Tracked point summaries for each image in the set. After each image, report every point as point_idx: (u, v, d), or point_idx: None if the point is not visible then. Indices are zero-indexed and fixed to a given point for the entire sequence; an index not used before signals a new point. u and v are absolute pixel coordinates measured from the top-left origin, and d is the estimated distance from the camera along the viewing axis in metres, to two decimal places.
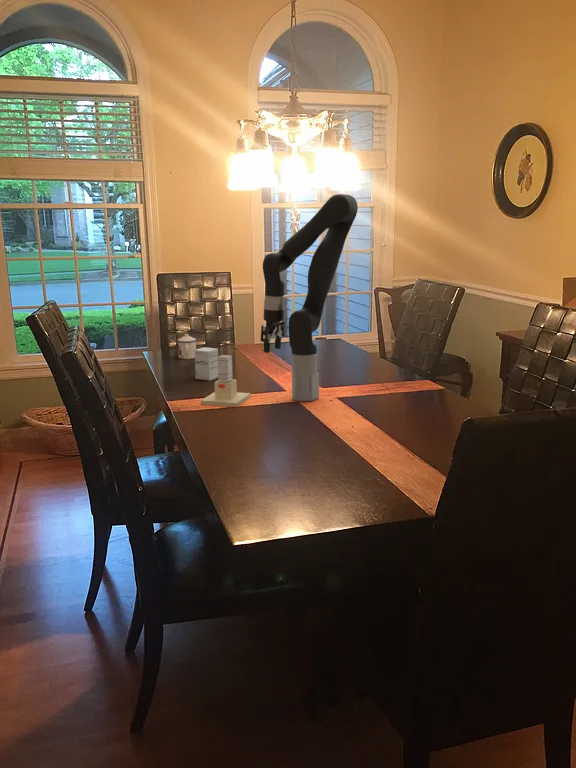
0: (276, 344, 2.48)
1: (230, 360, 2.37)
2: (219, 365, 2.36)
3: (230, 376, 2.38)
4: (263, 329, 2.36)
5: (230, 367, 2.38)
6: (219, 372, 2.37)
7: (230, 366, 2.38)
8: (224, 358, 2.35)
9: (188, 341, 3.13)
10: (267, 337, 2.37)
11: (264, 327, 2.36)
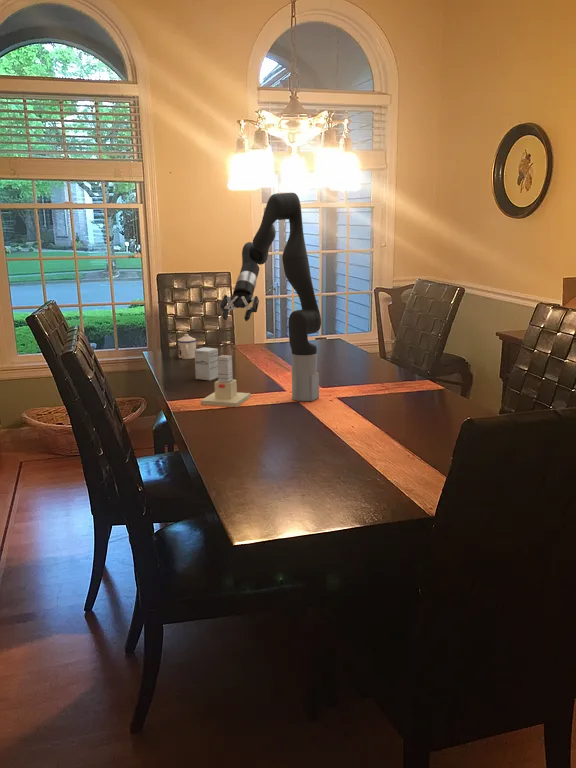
0: None
1: (230, 360, 2.37)
2: (219, 365, 2.36)
3: (230, 376, 2.38)
4: None
5: (230, 367, 2.38)
6: (219, 372, 2.37)
7: (230, 366, 2.38)
8: (224, 358, 2.35)
9: (188, 341, 3.13)
10: (223, 303, 2.49)
11: None
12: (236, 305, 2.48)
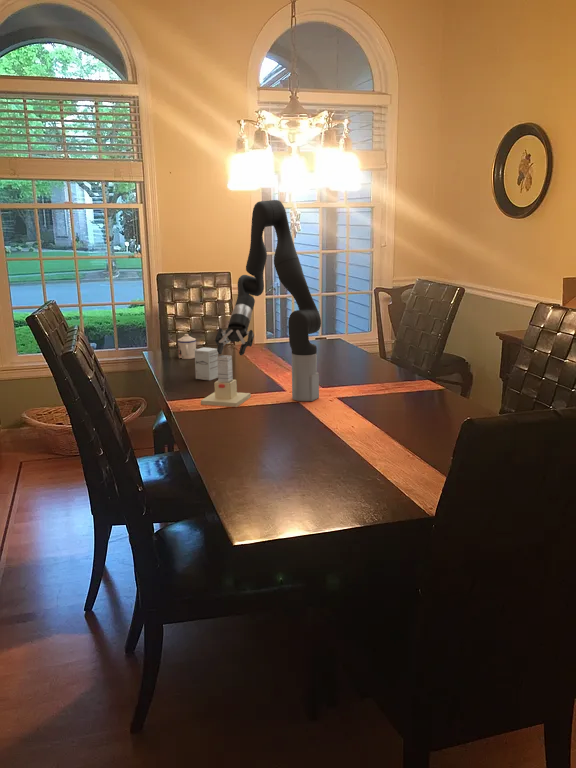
0: None
1: (230, 360, 2.37)
2: (219, 365, 2.36)
3: (230, 376, 2.38)
4: None
5: (230, 367, 2.38)
6: (219, 372, 2.37)
7: (230, 366, 2.38)
8: (224, 358, 2.35)
9: (188, 341, 3.13)
10: (217, 337, 2.46)
11: None
12: (231, 339, 2.45)
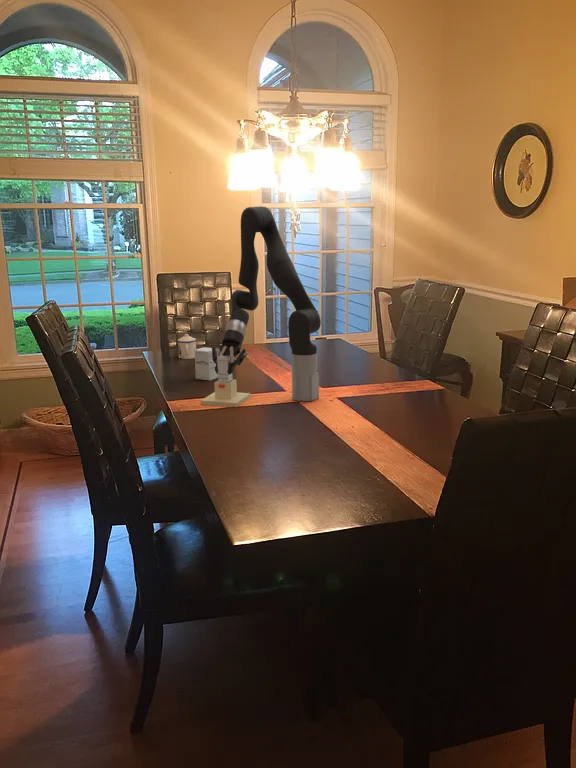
0: None
1: (230, 360, 2.37)
2: (219, 365, 2.36)
3: (230, 376, 2.38)
4: None
5: None
6: (219, 372, 2.37)
7: None
8: (224, 358, 2.35)
9: (188, 341, 3.13)
10: (214, 356, 2.40)
11: None
12: None
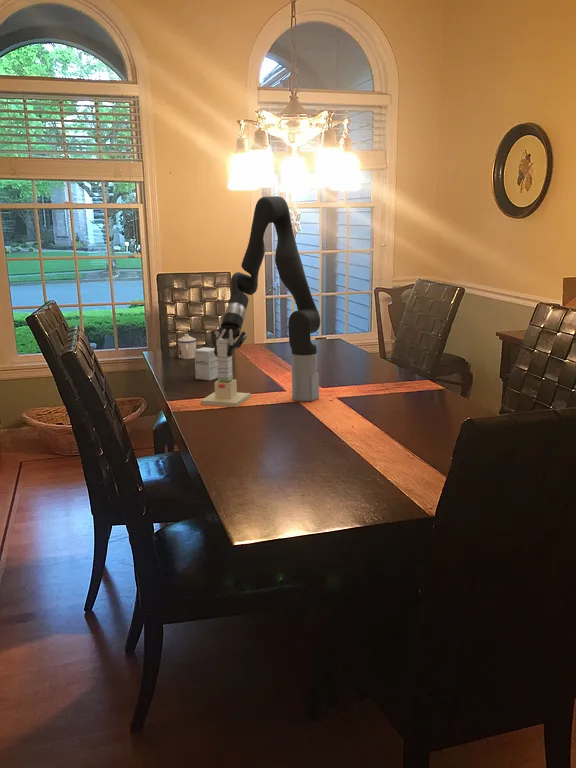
0: None
1: (229, 343, 2.36)
2: (218, 348, 2.35)
3: (229, 359, 2.37)
4: None
5: None
6: (218, 355, 2.35)
7: None
8: (223, 341, 2.34)
9: (188, 341, 3.13)
10: (213, 339, 2.38)
11: None
12: None
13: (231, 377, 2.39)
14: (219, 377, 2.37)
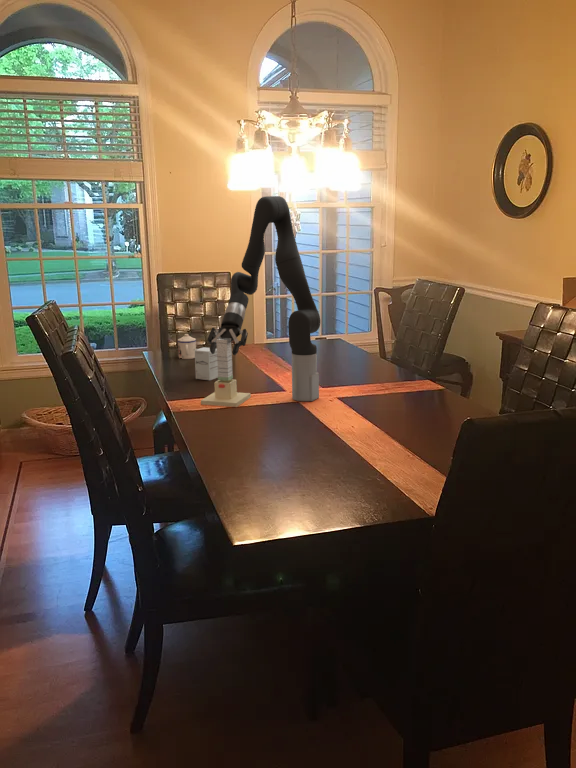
0: None
1: (229, 343, 2.36)
2: (218, 348, 2.35)
3: (229, 359, 2.37)
4: None
5: (229, 350, 2.36)
6: (218, 355, 2.35)
7: (229, 349, 2.36)
8: (223, 340, 2.34)
9: (188, 341, 3.13)
10: (210, 336, 2.39)
11: None
12: None
13: (231, 377, 2.39)
14: (219, 377, 2.37)
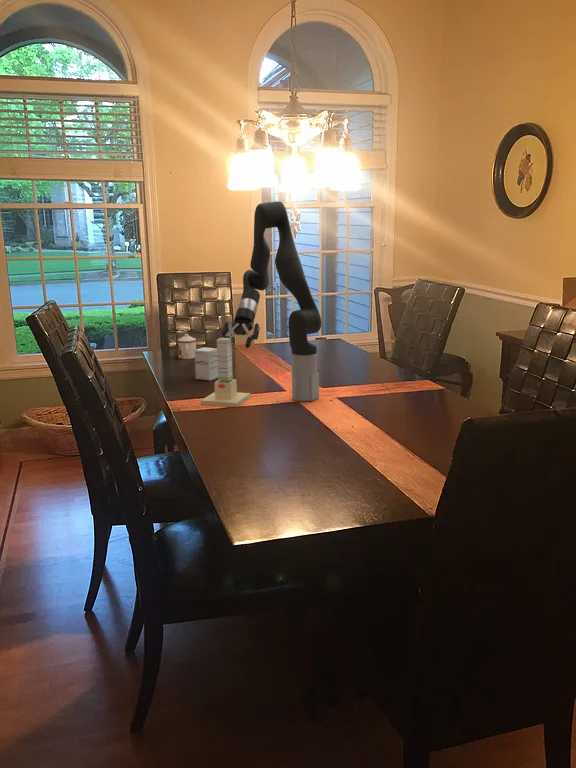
0: None
1: (229, 343, 2.36)
2: (218, 348, 2.35)
3: (229, 359, 2.37)
4: None
5: (229, 350, 2.36)
6: (218, 355, 2.35)
7: (229, 349, 2.36)
8: (223, 340, 2.34)
9: (188, 341, 3.13)
10: (224, 331, 2.51)
11: None
12: (237, 332, 2.50)
13: (231, 377, 2.39)
14: (219, 377, 2.37)
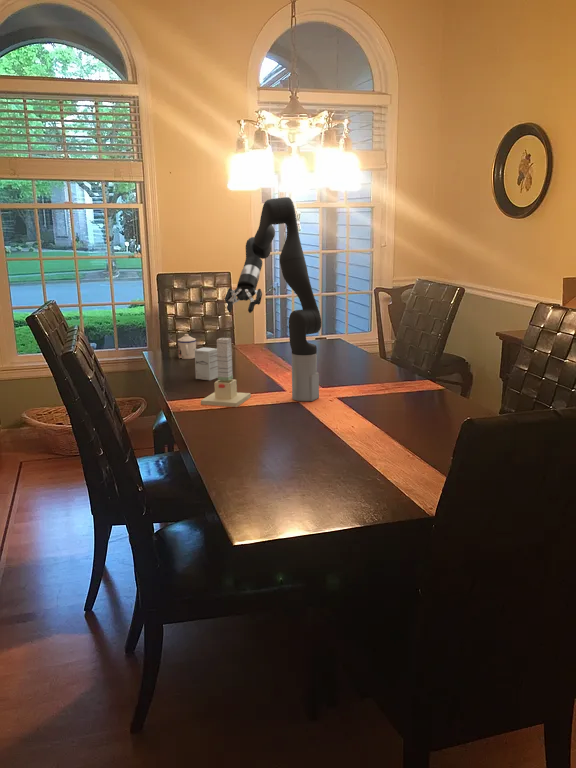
0: None
1: (229, 343, 2.36)
2: (218, 348, 2.35)
3: (229, 359, 2.37)
4: None
5: (229, 350, 2.36)
6: (218, 355, 2.35)
7: (229, 349, 2.36)
8: (223, 340, 2.34)
9: (188, 341, 3.13)
10: (227, 296, 2.56)
11: None
12: (240, 298, 2.55)
13: (231, 377, 2.39)
14: (219, 377, 2.37)
